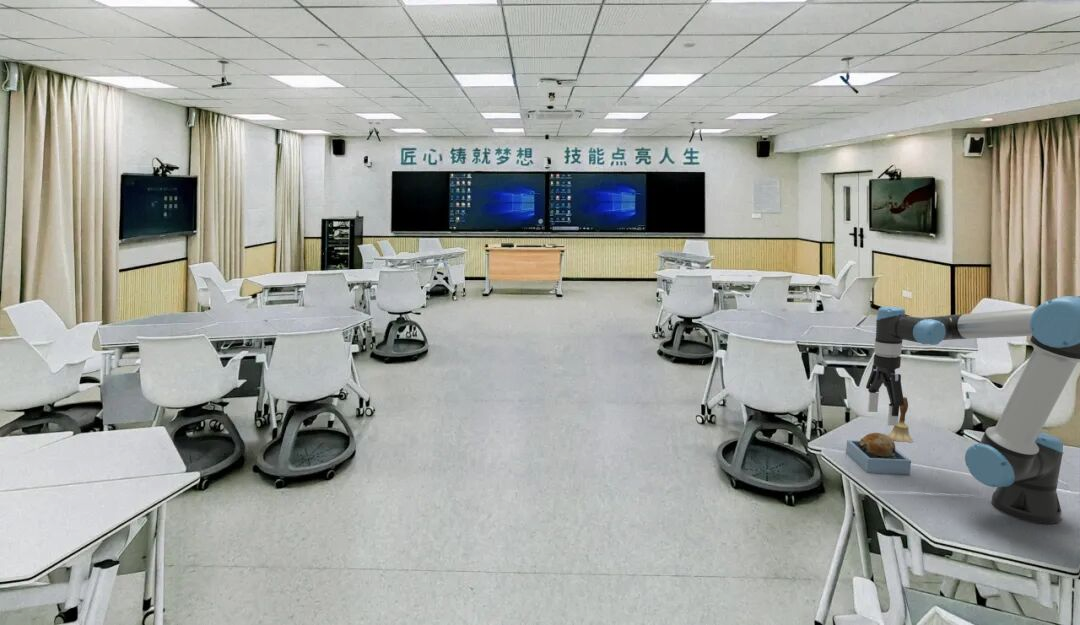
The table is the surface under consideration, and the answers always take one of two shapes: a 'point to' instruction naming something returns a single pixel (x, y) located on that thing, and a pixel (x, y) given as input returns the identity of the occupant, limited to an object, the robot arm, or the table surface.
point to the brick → (878, 456)
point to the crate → (878, 460)
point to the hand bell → (901, 426)
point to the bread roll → (878, 445)
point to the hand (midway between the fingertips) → (882, 418)
